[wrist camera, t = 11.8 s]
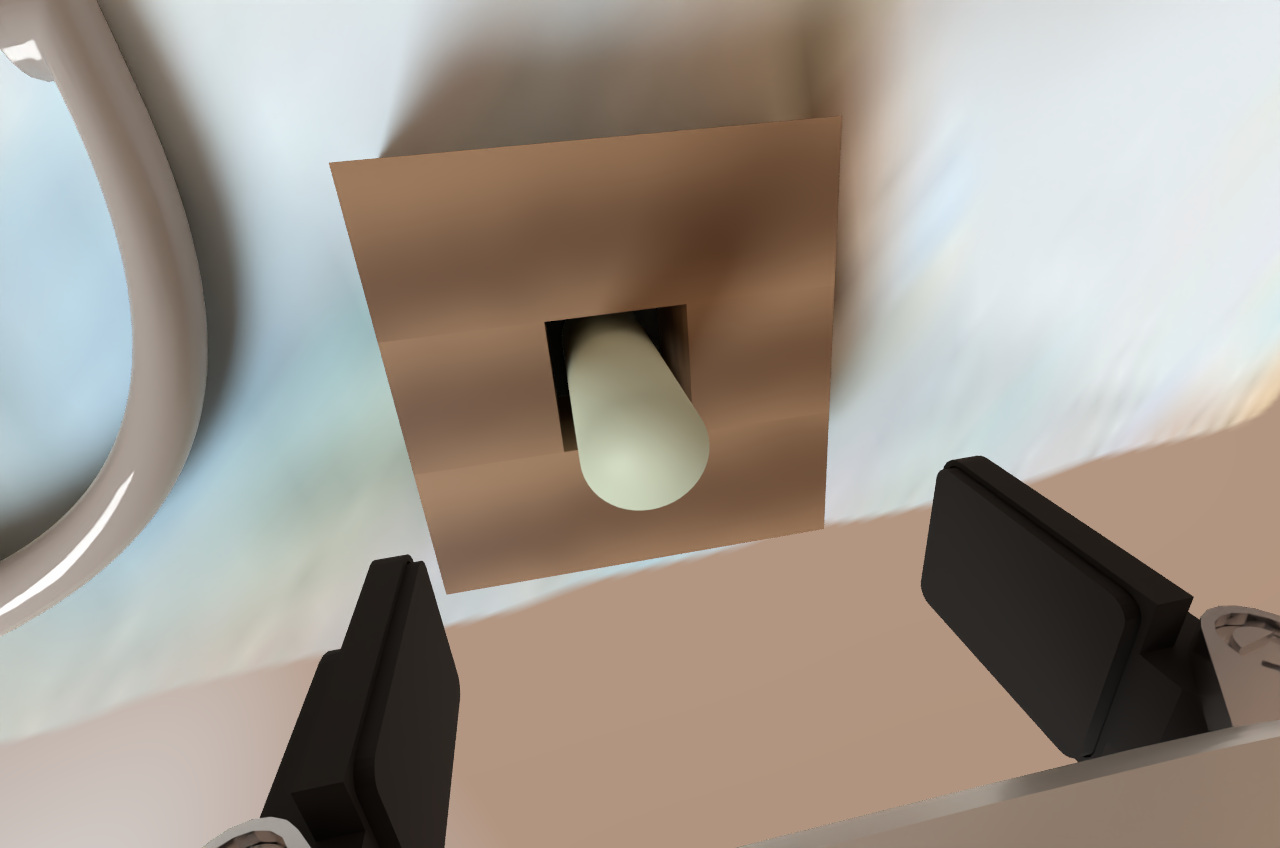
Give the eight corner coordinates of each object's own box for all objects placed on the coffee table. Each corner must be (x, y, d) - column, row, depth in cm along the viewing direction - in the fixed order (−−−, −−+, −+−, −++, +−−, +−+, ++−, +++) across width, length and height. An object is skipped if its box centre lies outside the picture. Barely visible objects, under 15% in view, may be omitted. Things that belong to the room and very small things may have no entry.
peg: (556, 303, 27) (571, 402, 16) (637, 293, 27) (706, 382, 16) (567, 380, 28) (588, 519, 17) (644, 369, 28) (712, 499, 18)
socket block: (376, 162, 23) (328, 162, 18) (774, 125, 25) (842, 115, 20) (462, 515, 30) (446, 594, 24) (773, 465, 32) (823, 528, 26)
